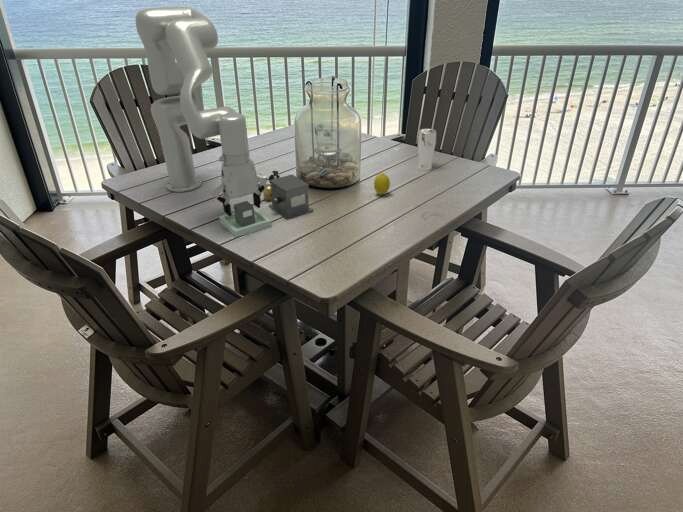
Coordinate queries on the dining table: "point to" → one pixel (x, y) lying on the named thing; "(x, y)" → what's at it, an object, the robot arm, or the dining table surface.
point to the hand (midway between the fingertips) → (243, 210)
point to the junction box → (289, 196)
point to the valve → (269, 176)
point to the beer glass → (426, 148)
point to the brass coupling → (267, 193)
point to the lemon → (382, 183)
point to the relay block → (244, 213)
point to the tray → (238, 230)
